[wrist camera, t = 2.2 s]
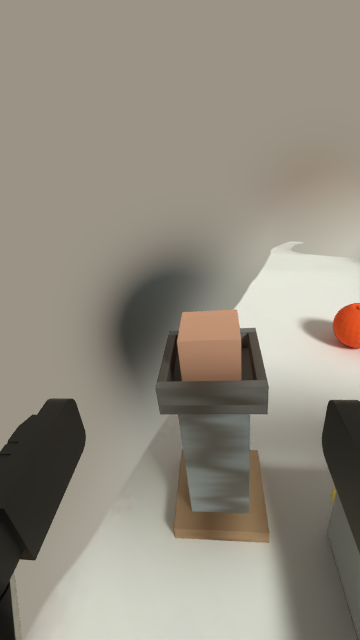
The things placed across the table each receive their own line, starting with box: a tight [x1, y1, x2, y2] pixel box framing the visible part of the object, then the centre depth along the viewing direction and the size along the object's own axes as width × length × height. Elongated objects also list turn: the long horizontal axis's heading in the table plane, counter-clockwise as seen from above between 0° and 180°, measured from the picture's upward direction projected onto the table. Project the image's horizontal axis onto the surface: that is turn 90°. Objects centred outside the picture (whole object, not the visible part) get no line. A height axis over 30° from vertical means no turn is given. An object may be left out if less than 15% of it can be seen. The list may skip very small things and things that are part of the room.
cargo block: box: [177, 310, 242, 381], centre depth 22 cm, size 4×4×4 cm
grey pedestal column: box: [156, 328, 269, 543], centre depth 26 cm, size 8×8×17 cm
